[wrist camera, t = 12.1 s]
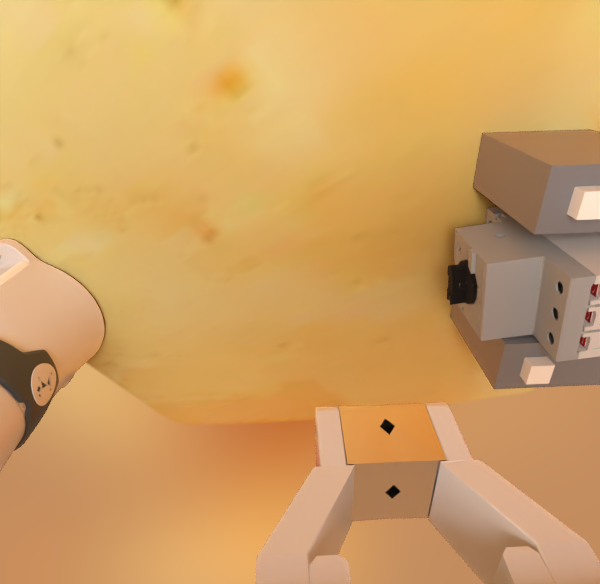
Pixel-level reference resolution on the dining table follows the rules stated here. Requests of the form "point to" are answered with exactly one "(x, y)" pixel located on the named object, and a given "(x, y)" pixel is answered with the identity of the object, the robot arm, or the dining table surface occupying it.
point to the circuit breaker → (528, 285)
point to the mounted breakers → (538, 220)
